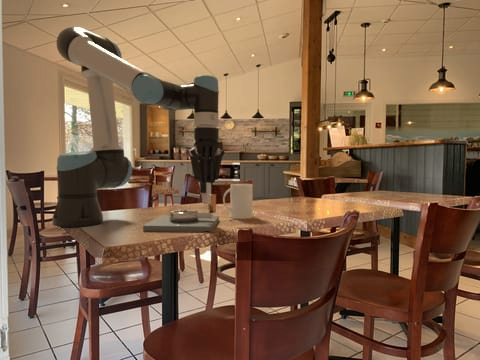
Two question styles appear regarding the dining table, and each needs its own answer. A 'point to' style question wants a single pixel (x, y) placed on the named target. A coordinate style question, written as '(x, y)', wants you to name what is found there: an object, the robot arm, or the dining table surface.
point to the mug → (240, 201)
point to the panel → (180, 224)
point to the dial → (194, 213)
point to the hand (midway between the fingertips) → (206, 203)
